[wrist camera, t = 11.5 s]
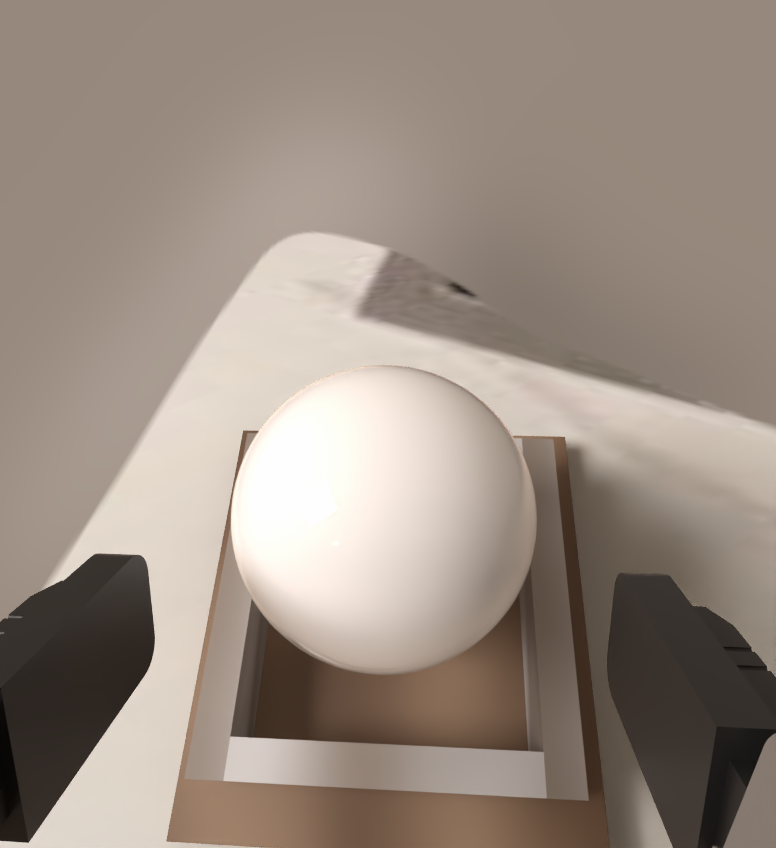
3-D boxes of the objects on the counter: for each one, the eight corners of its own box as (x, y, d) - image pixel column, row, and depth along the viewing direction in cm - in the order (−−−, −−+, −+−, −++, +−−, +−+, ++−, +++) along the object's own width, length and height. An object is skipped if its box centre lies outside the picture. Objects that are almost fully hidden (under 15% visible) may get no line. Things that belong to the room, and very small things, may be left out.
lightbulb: (457, 766, 18) (501, 696, 8) (259, 677, 19) (113, 535, 10) (520, 564, 21) (601, 352, 12) (345, 500, 22) (295, 268, 13)
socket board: (559, 449, 24) (579, 400, 21) (602, 864, 17) (641, 879, 14) (249, 443, 25) (226, 394, 22) (178, 839, 18) (130, 848, 15)
